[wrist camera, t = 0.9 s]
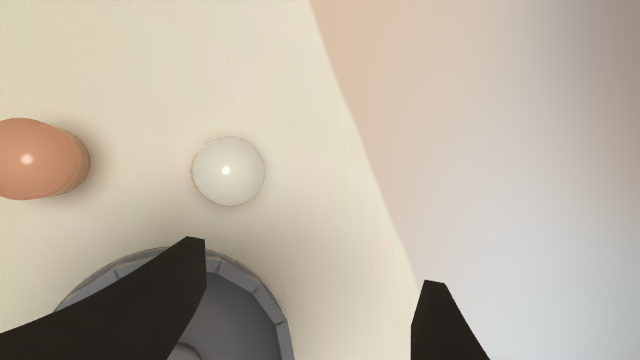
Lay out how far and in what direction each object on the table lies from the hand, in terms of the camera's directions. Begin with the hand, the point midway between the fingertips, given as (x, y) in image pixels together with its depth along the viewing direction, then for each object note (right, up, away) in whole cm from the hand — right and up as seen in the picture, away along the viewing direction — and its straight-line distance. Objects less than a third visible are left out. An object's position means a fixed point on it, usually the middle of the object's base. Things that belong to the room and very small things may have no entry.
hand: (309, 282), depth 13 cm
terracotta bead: (-16, +4, +11) cm, 20 cm away
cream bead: (-7, +4, +15) cm, 16 cm away
